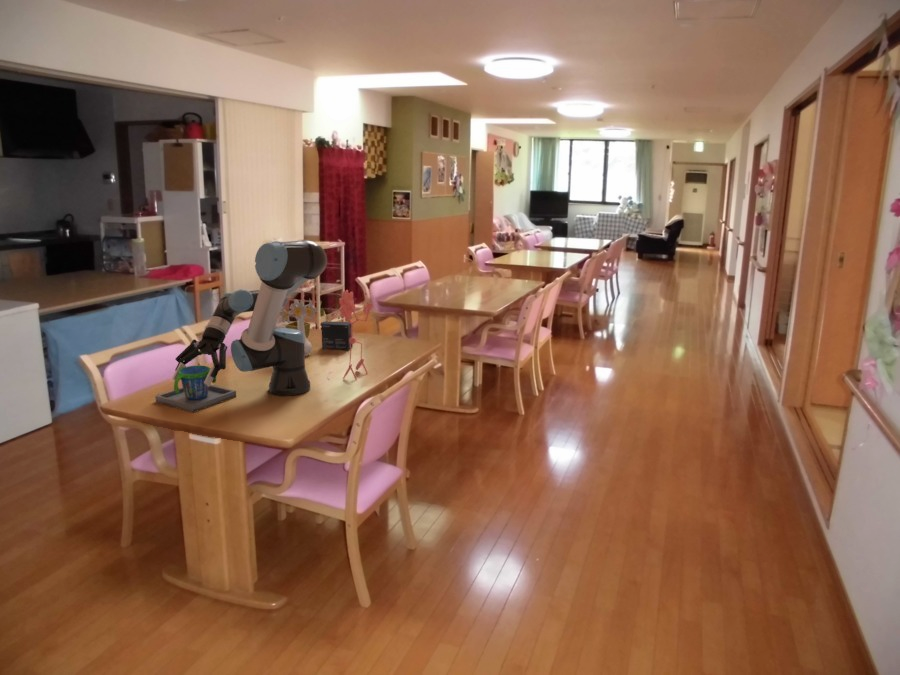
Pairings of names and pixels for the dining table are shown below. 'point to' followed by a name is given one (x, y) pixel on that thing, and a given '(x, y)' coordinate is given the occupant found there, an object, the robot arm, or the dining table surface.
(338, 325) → the small box
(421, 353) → the dining table surface
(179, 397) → the cup tray
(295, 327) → the flower pot
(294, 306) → the flower vase
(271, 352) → the robot arm
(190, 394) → the snack cup
